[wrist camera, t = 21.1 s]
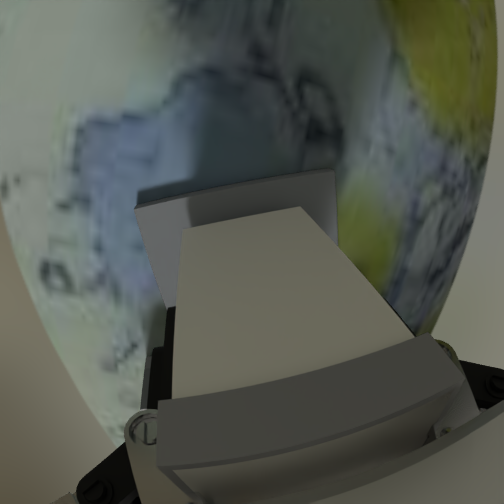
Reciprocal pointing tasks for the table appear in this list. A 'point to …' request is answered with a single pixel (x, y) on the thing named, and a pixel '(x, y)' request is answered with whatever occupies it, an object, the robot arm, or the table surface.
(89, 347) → the table surface
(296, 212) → the plug
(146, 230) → the mat
